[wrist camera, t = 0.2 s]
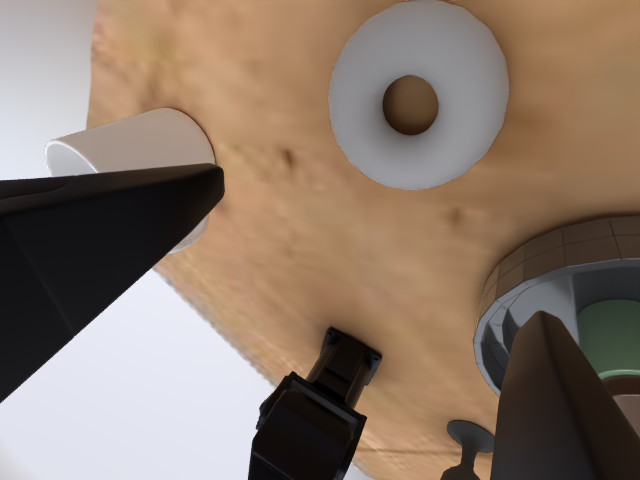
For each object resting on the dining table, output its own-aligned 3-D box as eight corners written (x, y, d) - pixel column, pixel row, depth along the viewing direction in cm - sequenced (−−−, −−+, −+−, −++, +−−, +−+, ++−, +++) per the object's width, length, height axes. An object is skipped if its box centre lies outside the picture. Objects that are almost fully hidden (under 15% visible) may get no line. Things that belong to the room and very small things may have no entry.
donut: (475, 193, 21) (548, 4, 15) (466, 220, 19) (550, 8, 12) (337, 157, 25) (349, -9, 18) (315, 176, 22) (320, -8, 16)
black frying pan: (659, 436, 24) (678, 503, 21) (448, 330, 28) (436, 372, 25) (976, 301, 14) (1110, 394, 10) (565, 167, 18) (571, 204, 15)
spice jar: (633, 363, 22) (660, 465, 17) (559, 329, 23) (565, 415, 18) (696, 323, 19) (750, 433, 14) (606, 287, 20) (628, 376, 15)
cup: (180, 89, 28) (58, 120, 21) (253, 208, 32) (171, 269, 25) (141, 127, 34) (34, 163, 26) (208, 226, 37) (129, 280, 30)
